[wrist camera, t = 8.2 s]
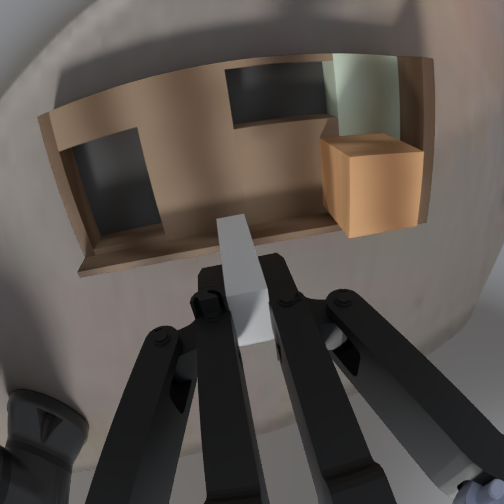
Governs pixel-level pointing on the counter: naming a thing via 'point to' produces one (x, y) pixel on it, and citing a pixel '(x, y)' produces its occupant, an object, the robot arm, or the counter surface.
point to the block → (371, 182)
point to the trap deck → (225, 150)
